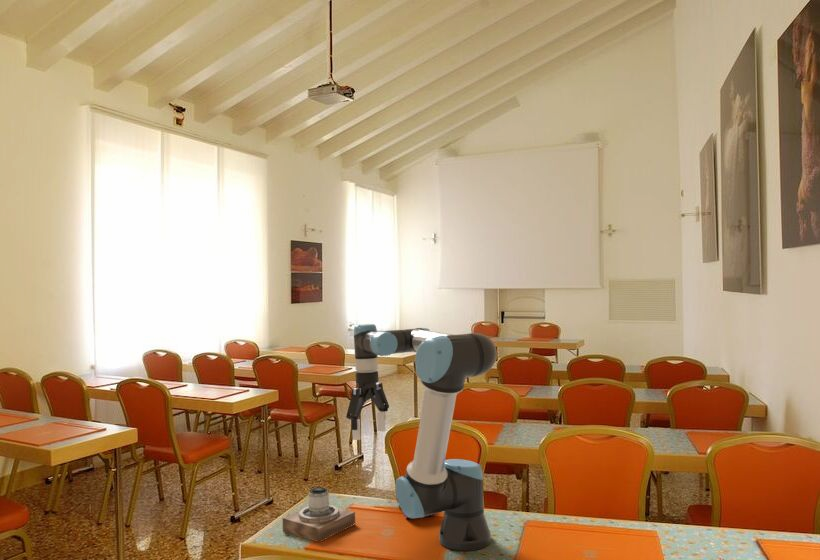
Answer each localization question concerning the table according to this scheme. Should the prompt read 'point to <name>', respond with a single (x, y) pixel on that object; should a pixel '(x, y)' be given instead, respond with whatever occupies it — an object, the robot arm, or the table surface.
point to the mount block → (318, 523)
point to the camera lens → (318, 502)
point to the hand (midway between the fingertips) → (369, 435)
